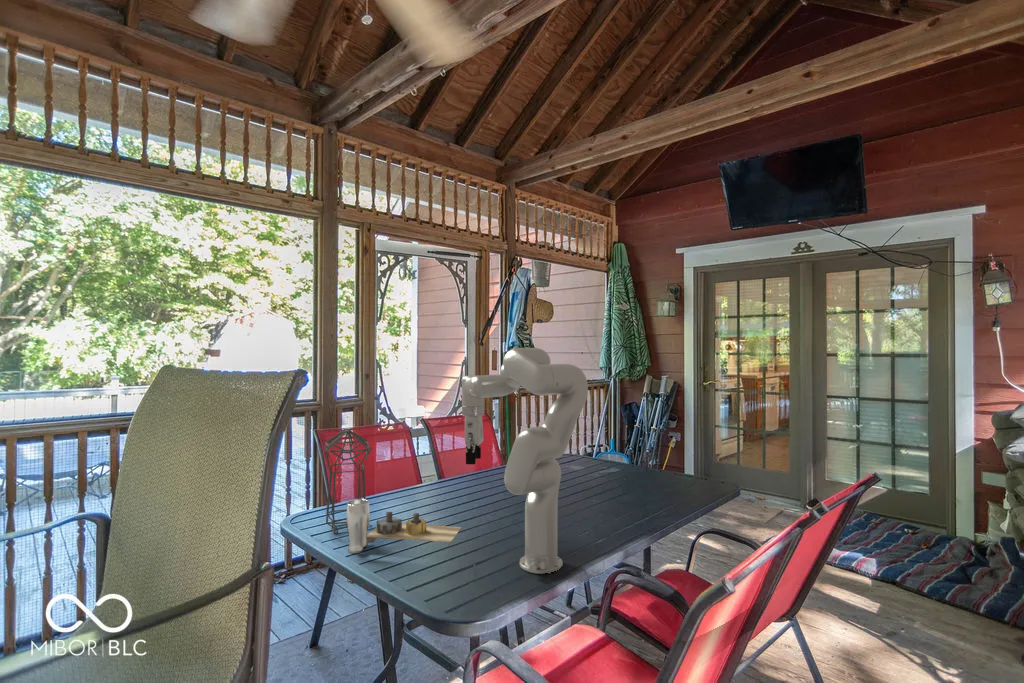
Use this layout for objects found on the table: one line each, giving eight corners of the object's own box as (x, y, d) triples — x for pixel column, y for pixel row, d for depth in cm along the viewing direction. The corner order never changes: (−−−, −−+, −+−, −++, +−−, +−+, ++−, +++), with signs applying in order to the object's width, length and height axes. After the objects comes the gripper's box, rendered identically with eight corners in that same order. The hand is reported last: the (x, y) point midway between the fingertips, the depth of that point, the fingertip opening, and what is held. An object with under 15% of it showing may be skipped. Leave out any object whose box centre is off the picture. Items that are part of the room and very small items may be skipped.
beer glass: (361, 543, 167) (361, 497, 167) (374, 549, 163) (374, 501, 163) (341, 550, 162) (342, 502, 162) (354, 556, 157) (355, 506, 157)
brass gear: (422, 536, 170) (422, 525, 170) (403, 534, 171) (403, 524, 171) (428, 529, 176) (428, 518, 177) (410, 528, 178) (410, 517, 178)
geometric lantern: (366, 519, 191) (368, 425, 190) (370, 535, 176) (373, 432, 176) (320, 524, 185) (323, 426, 185) (321, 540, 170) (323, 434, 170)
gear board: (450, 547, 165) (450, 523, 165) (364, 541, 169) (364, 518, 169) (461, 531, 178) (461, 509, 179) (382, 526, 183) (382, 505, 183)
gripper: (479, 414, 169) (479, 466, 168) (487, 408, 186) (488, 456, 185) (456, 414, 170) (457, 466, 169) (467, 408, 187) (468, 456, 186)
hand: (473, 461), depth 177 cm, fingers open, 9 cm apart
